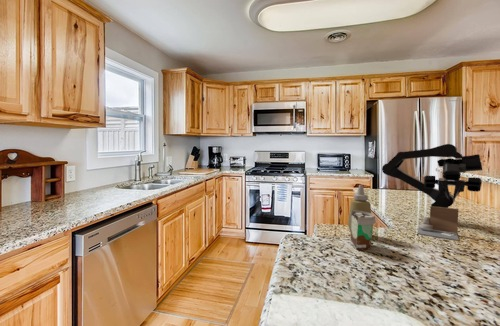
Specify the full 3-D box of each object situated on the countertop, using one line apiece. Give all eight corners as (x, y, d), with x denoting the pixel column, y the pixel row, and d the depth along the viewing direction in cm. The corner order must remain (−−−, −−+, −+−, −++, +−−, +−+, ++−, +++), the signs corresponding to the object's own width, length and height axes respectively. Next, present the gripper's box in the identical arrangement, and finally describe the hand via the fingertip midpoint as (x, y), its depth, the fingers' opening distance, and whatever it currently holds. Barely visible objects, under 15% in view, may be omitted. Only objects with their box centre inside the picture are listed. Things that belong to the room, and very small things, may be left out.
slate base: (419, 226, 108) (419, 225, 108) (455, 232, 101) (456, 230, 101) (417, 234, 97) (417, 232, 97) (458, 240, 90) (458, 239, 90)
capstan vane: (420, 227, 104) (421, 204, 104) (456, 232, 98) (457, 208, 98) (420, 229, 101) (421, 206, 101) (457, 234, 95) (459, 210, 94)
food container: (379, 253, 75) (381, 219, 75) (357, 251, 76) (358, 217, 76) (369, 240, 87) (370, 211, 87) (349, 239, 88) (350, 209, 88)
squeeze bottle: (371, 233, 96) (373, 184, 95) (371, 239, 88) (373, 186, 88) (348, 230, 99) (349, 183, 99) (346, 236, 92) (348, 185, 91)
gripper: (425, 157, 114) (423, 183, 105) (481, 157, 103) (485, 187, 94) (425, 174, 120) (423, 201, 111) (478, 176, 109) (481, 206, 101)
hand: (451, 198), depth 104 cm, fingers closed
